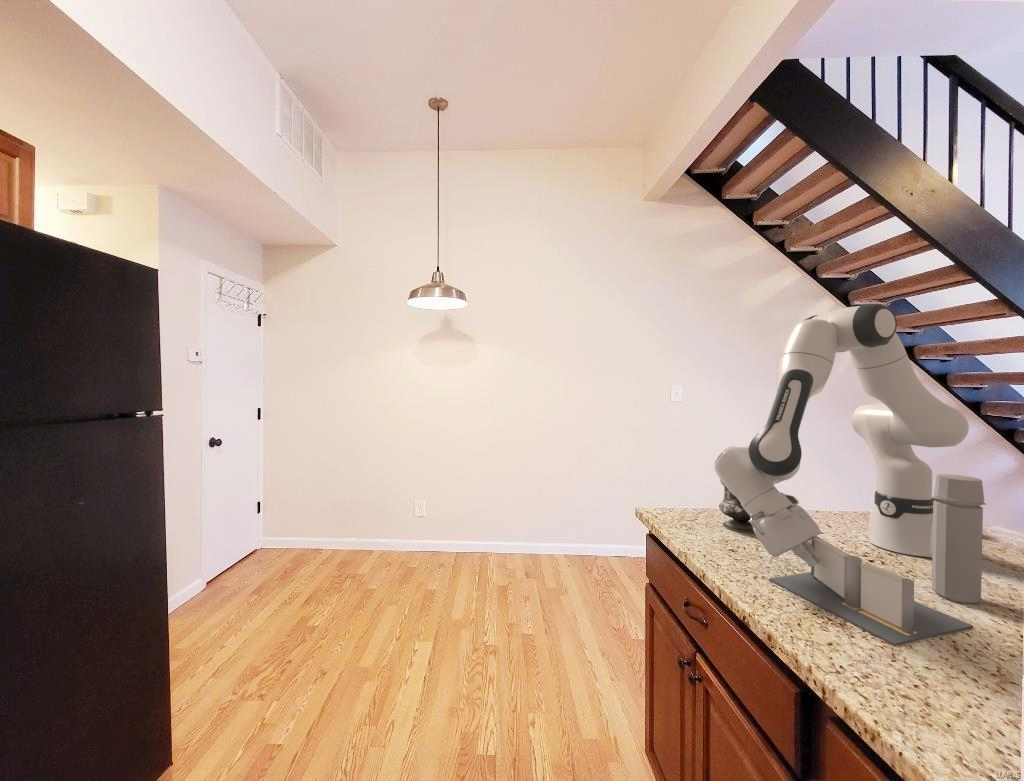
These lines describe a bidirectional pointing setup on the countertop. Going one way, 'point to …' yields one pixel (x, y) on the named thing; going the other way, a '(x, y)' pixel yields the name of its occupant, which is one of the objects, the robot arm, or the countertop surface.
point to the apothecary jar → (735, 513)
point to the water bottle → (957, 538)
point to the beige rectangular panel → (830, 565)
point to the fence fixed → (880, 593)
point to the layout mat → (821, 595)
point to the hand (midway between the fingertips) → (816, 564)
